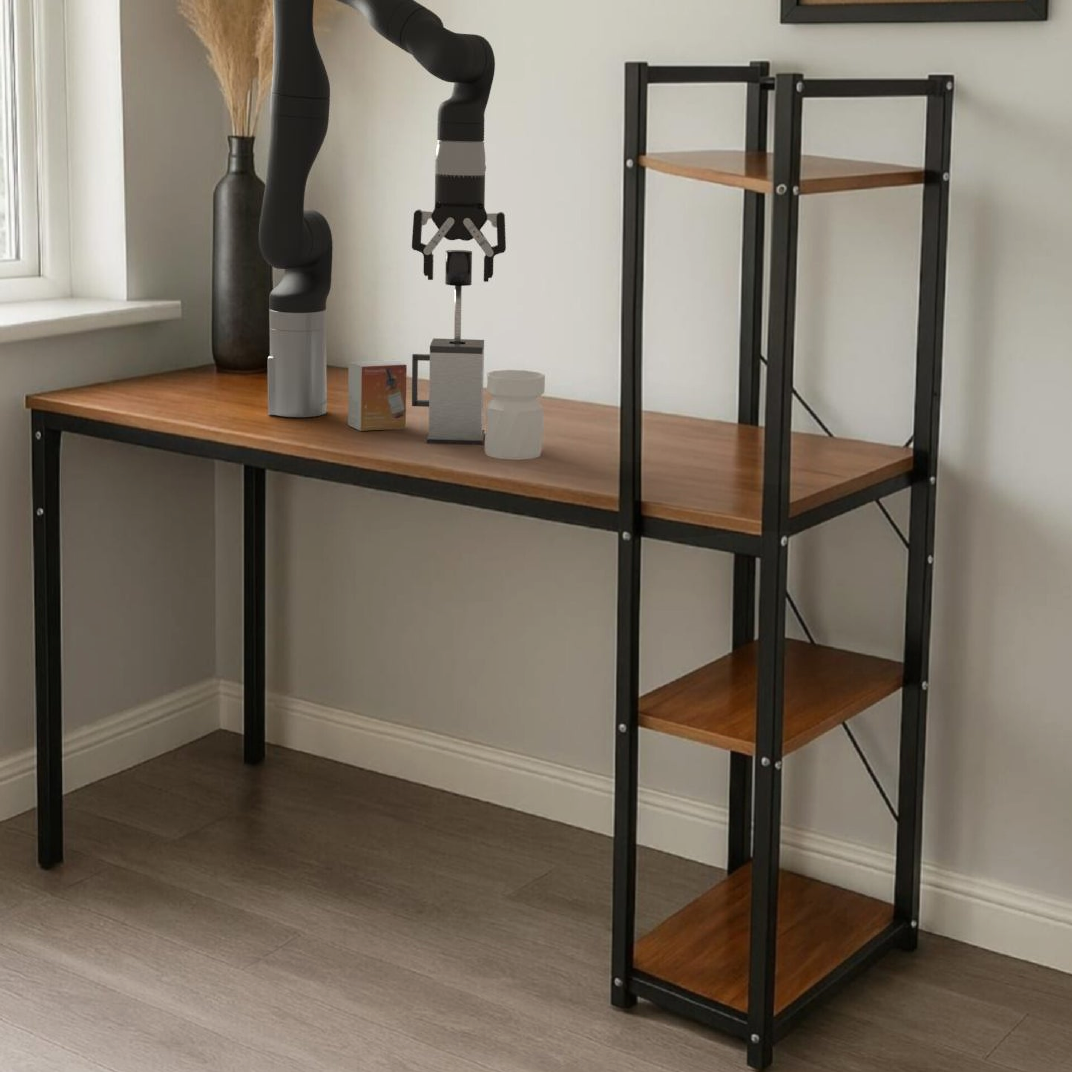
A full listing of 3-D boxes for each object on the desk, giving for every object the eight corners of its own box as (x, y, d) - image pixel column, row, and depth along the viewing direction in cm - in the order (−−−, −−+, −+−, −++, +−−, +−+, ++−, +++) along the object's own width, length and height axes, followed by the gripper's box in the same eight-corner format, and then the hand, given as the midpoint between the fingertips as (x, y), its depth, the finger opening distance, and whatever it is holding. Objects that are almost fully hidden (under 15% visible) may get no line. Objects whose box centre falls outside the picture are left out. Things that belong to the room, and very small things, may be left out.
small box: (360, 432, 265) (360, 366, 263) (347, 425, 270) (347, 360, 268) (407, 429, 269) (407, 363, 266) (393, 422, 274) (393, 358, 271)
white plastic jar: (497, 461, 248) (499, 380, 245) (476, 449, 256) (477, 371, 252) (551, 457, 251) (554, 378, 248) (528, 446, 259) (531, 368, 256)
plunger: (439, 390, 258) (440, 252, 253) (440, 384, 263) (442, 249, 258) (472, 391, 258) (475, 253, 253) (474, 385, 263) (476, 250, 258)
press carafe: (409, 442, 259) (410, 345, 255) (413, 431, 267) (414, 337, 263) (482, 444, 259) (484, 347, 255) (484, 433, 267) (486, 339, 263)
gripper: (410, 171, 249) (410, 281, 253) (507, 174, 249) (504, 284, 253) (414, 169, 256) (413, 276, 260) (508, 172, 256) (505, 279, 260)
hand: (458, 280), depth 257 cm, fingers open, 8 cm apart
